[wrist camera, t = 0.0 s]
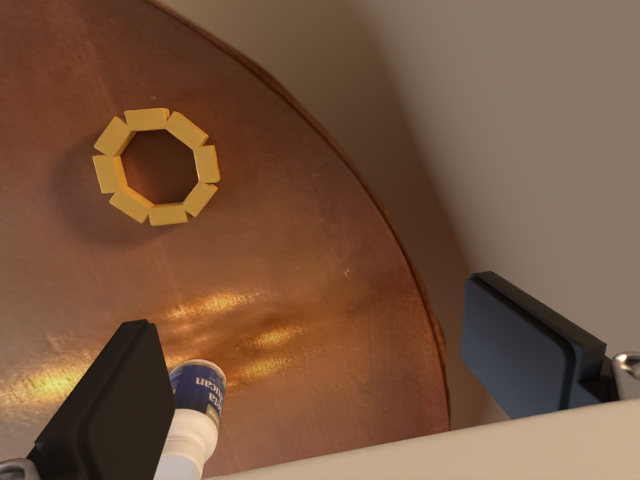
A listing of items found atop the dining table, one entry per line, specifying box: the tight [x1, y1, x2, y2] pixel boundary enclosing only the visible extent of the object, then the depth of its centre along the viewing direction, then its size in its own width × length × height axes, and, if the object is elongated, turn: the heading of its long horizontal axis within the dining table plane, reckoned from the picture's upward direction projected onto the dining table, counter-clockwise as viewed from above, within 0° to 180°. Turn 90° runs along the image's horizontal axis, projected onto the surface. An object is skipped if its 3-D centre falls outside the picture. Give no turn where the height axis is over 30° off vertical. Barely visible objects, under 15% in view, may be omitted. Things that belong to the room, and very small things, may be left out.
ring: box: [92, 108, 220, 226], centre depth 27 cm, size 8×8×1 cm
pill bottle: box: [153, 359, 226, 480], centre depth 29 cm, size 5×5×10 cm
